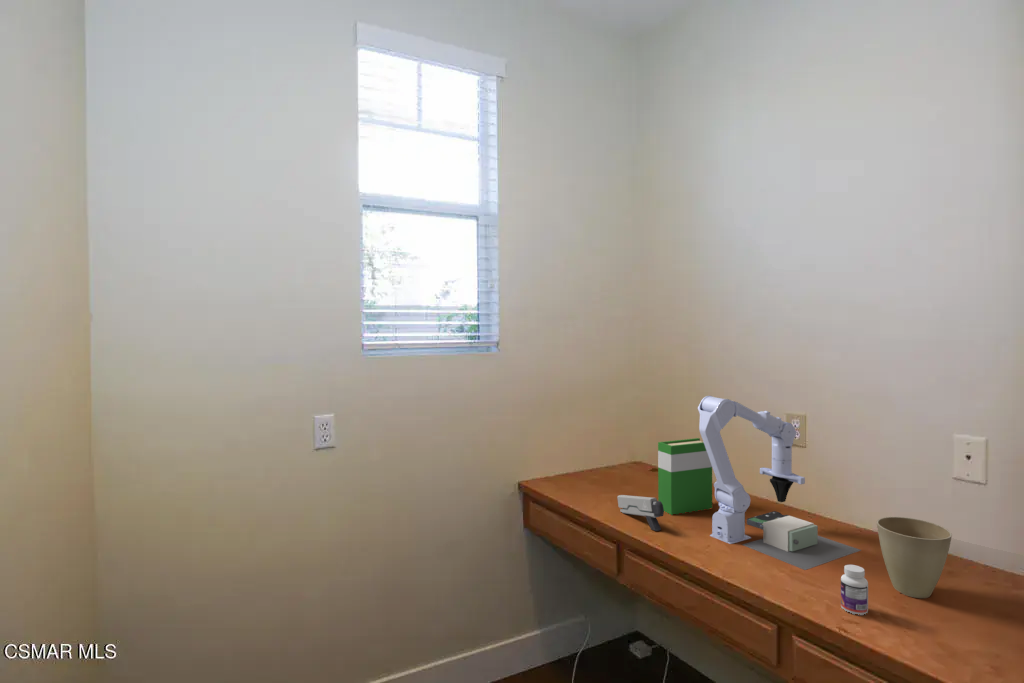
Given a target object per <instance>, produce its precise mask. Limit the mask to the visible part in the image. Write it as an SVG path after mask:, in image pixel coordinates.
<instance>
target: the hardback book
mask: <svg viewBox="0 0 1024 683" xmlns="http://www.w3.org/2000/svg"><path fill="white" fill-rule="evenodd" d="M657 461H658V462H657V464H658V466H657V473H658V474H657V477H658V478H657V480H658V481H657V485H658V486H657V487H658V488H657V496H658V497H657V498H658V499H657V501H661V503H662V504H663V509H664V511H665V512H664V513H666V512H667V513H666V514H668V513H669V514H668V515H670V514H671V515H670V516H674V515H673V514H676V515H680V514H679V513H682V514H686V513H685V512H689V513H693V512H692V511H695V512H699V511H698V510H701V511H705V510H704V509H707V510H711V509H710V508H712V509H713V468H712V465H711V462H710V459H709V456H708V453H707V451H706V448H705V445H704V442H703V440H702V441H701V439H700V438H699V437H698V438H697V437H695V438H687V439H686V438H684V439H676V440H675V439H674V440H668V441H667V440H666V441H657Z"/></svg>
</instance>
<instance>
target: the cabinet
mask: <svg viewBox="0 0 1024 683" xmlns="http://www.w3.org/2000/svg"><path fill="white" fill-rule="evenodd" d="M798 518H799V517H795V516H792V515H789V516H785V517H782V518H778V519H774V520H771V521H767V522H763V530H762V532H763V533H762V534H763V538H762V539H763V542H764V543H767V544H769V545H772V546H774V547H777V548H780V549H782V550H785V551H789V532H790V531H794V530H797V529H801V528H804V527H808V526H811V525H815V524H814V522H810V521H808V520H804V519H802V518H799V519H798Z"/></svg>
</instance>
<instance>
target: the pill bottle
mask: <svg viewBox="0 0 1024 683" xmlns="http://www.w3.org/2000/svg"><path fill="white" fill-rule="evenodd" d="M843 567H844V568H843V572H844V574H842V575H841V577H840V607H841V609H842V610H843V609H844V610H845V612H846V611H847V612H846V613H848V612H850V613H849V614H851V613H852V614H851V615H855V614H858V615H857V616H865V615H867V614H868V612H869V582H868V579H866V577H865V574H866V572H865V568H864V567H862V566H860V565H855V564H845V565H844V566H843ZM844 610H843V611H844ZM866 613H867V614H866ZM859 614H860V615H859ZM864 614H865V615H864Z"/></svg>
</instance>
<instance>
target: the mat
mask: <svg viewBox="0 0 1024 683" xmlns="http://www.w3.org/2000/svg"><path fill="white" fill-rule="evenodd" d="M741 545H742V546H744V547H746V548H749V549H751V550H755V551H756V552H759V553H760V554H761V553H762V554H764V555H766V556H769V557H770V558H774V559H776V560H778V561H781V562H784V563H786V564H789V565H791V566H794V567H796V568H799V569H801V570H804V571H806V570H810V569H813V568H815V567H818V566H820V565H824V564H827V563H829V562H832V561H835V560H839V559H841V558H843V557H847V556H849V555H852V554H855V553H858V552H861V551H862V549H859V548H857V547H855V546H850V545H847V544H845V543H841V542H839V541H836V540H833V539H829V538H827V537H824V536H821V535H818V543H817V544H815V545H812V546H809V547H806V548H802V549H799V550H796V551H793V552H792V551H785V550H782V549H780V548H777V547H774V546H772V545H769V544H767V543H764V542H763V538H760V539H757V540H753V541H749V542H746V543H743V544H741Z"/></svg>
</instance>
